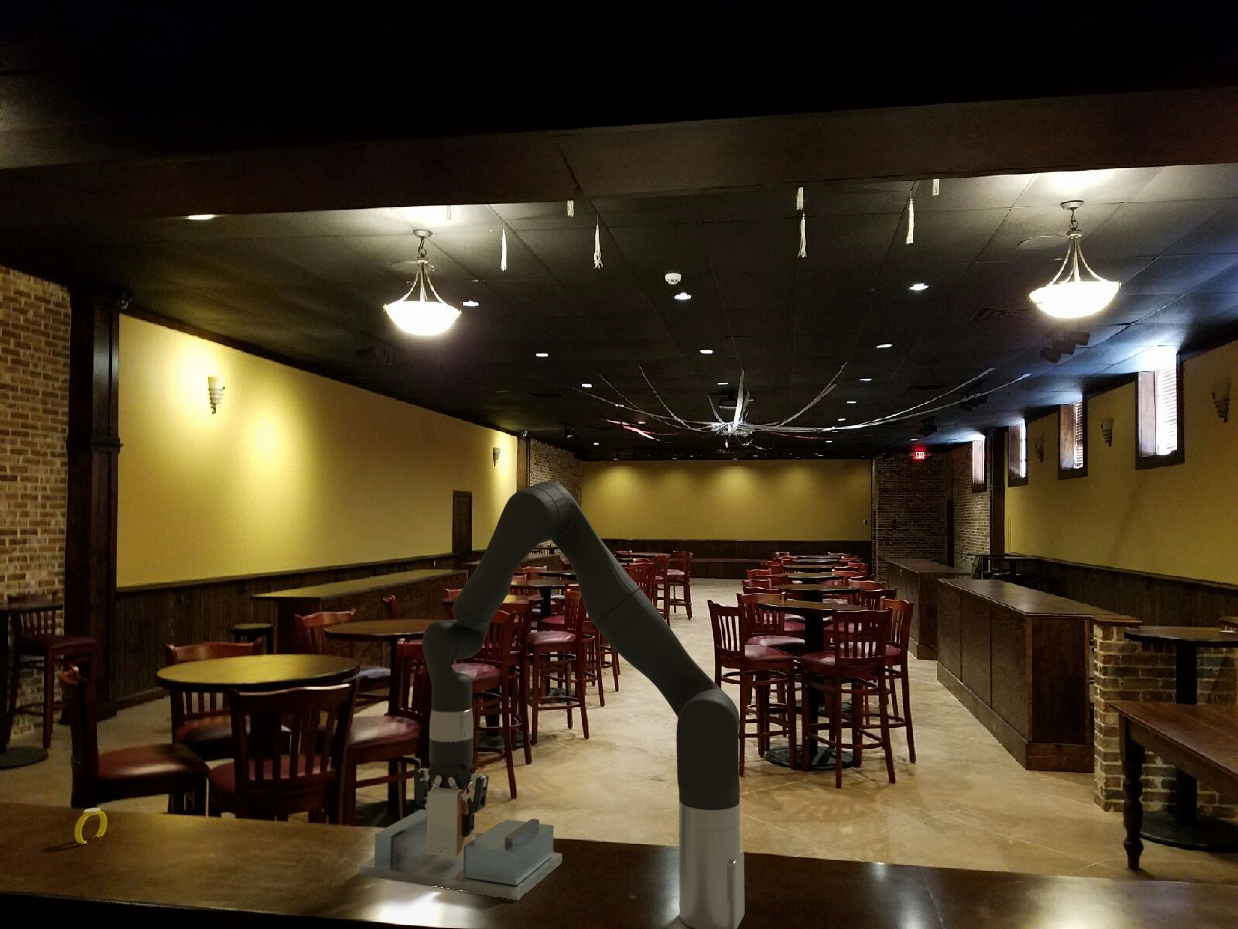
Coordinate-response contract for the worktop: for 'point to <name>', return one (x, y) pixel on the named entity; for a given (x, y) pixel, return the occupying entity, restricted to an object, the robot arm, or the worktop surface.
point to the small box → (445, 822)
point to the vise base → (436, 862)
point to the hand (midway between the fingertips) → (450, 833)
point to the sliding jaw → (508, 851)
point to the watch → (82, 819)
